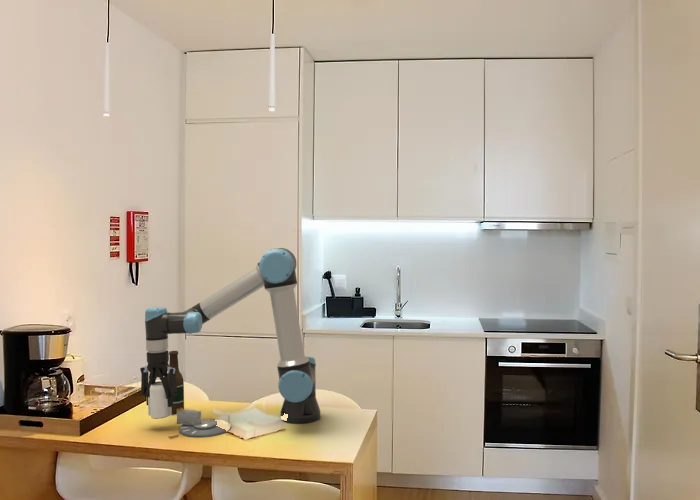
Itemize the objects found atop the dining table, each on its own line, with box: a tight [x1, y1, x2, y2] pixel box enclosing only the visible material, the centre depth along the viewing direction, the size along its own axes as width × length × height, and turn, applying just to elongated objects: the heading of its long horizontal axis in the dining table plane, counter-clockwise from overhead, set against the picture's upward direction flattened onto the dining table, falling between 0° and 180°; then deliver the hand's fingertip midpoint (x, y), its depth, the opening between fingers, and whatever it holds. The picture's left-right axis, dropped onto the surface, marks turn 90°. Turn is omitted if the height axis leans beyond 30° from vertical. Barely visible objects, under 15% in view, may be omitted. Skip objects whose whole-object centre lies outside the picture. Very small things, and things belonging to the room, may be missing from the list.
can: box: [150, 380, 167, 420], centre depth 223 cm, size 6×6×12 cm
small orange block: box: [168, 433, 179, 440], centre depth 214 cm, size 3×1×1 cm, turn 134°
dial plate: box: [178, 418, 227, 438], centre depth 223 cm, size 18×18×1 cm
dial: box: [176, 407, 217, 429], centre depth 224 cm, size 15×8×5 cm, turn 71°
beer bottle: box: [167, 350, 185, 416], centre depth 244 cm, size 8×8×24 cm
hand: (160, 415), depth 223 cm, fingers closed on can, 6 cm apart
